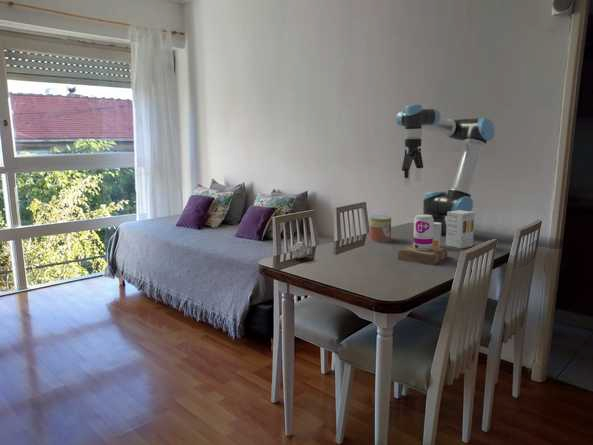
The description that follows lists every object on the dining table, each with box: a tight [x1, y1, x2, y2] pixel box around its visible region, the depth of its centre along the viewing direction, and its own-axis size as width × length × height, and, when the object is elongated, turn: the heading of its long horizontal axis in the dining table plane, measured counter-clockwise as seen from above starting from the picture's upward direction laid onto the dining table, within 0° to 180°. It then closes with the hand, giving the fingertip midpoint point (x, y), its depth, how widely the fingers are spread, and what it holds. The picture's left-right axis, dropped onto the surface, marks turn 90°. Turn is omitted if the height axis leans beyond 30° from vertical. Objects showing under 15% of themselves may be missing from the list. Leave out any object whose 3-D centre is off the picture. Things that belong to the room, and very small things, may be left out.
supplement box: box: [445, 210, 476, 249], centre depth 220 cm, size 10×9×17 cm
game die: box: [289, 239, 311, 261], centre depth 202 cm, size 9×8×10 cm
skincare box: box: [433, 222, 442, 248], centre depth 218 cm, size 6×4×12 cm
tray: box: [397, 244, 448, 266], centre depth 200 cm, size 16×16×4 cm
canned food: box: [368, 214, 392, 243], centre depth 236 cm, size 11×11×12 cm
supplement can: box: [412, 213, 434, 251], centre depth 198 cm, size 8×8×15 cm
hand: (412, 183), depth 218 cm, fingers open, 13 cm apart
